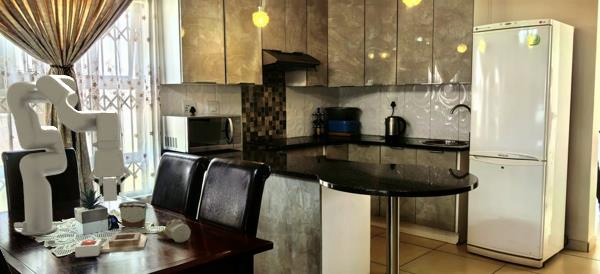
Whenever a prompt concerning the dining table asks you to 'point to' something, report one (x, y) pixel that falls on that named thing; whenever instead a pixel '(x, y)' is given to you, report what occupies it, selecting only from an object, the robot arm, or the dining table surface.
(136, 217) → the food container
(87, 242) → the button
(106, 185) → the block
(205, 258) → the dining table surface
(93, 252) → the button box
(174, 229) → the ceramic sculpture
